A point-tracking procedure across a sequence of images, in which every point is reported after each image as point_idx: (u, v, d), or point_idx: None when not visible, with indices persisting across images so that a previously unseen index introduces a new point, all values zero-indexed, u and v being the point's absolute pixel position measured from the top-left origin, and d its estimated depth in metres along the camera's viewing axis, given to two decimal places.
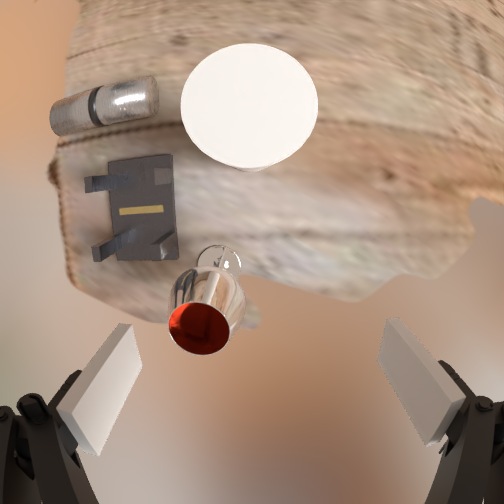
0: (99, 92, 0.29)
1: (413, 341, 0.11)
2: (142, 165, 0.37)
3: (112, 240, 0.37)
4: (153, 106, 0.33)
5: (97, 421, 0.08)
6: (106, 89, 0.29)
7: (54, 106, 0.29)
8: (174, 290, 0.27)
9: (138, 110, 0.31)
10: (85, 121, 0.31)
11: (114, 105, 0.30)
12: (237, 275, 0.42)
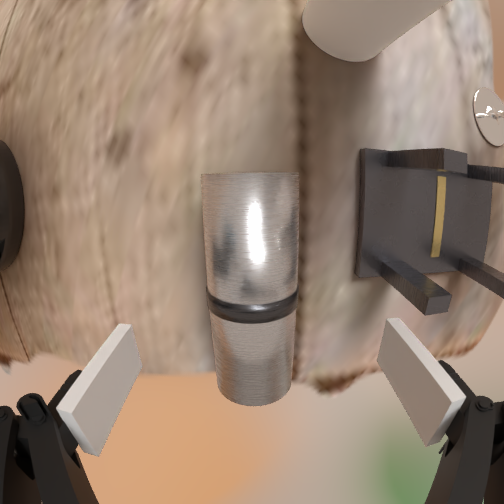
0: (230, 296, 0.16)
1: (413, 341, 0.11)
2: (377, 206, 0.20)
3: (479, 268, 0.18)
4: None
5: (97, 421, 0.08)
6: (227, 278, 0.16)
7: (236, 397, 0.19)
8: None
9: (292, 195, 0.16)
10: (289, 327, 0.18)
11: (274, 253, 0.16)
12: (497, 96, 0.17)
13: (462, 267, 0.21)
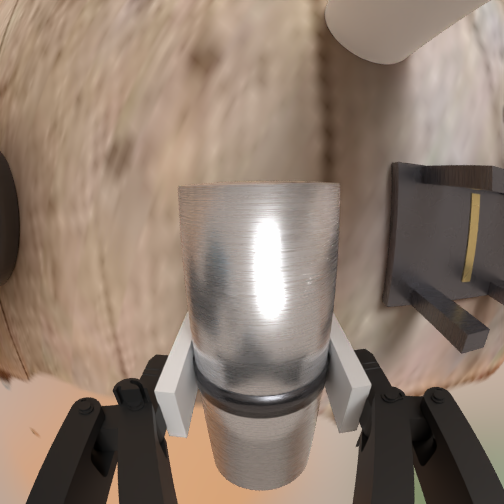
0: (229, 384, 0.10)
1: (335, 328, 0.13)
2: (410, 228, 0.17)
3: None
4: None
5: (187, 401, 0.10)
6: (223, 360, 0.09)
7: (239, 482, 0.12)
8: None
9: (334, 223, 0.09)
10: (315, 409, 0.11)
11: (302, 323, 0.09)
12: None
13: (492, 291, 0.17)
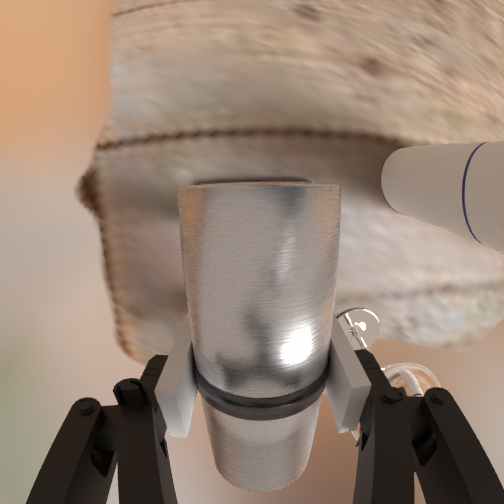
0: (229, 386, 0.10)
1: (334, 328, 0.13)
2: None
3: None
4: None
5: (187, 401, 0.10)
6: (224, 363, 0.09)
7: (239, 484, 0.12)
8: None
9: (334, 225, 0.09)
10: (315, 411, 0.11)
11: (303, 325, 0.09)
12: (372, 341, 0.30)
13: None
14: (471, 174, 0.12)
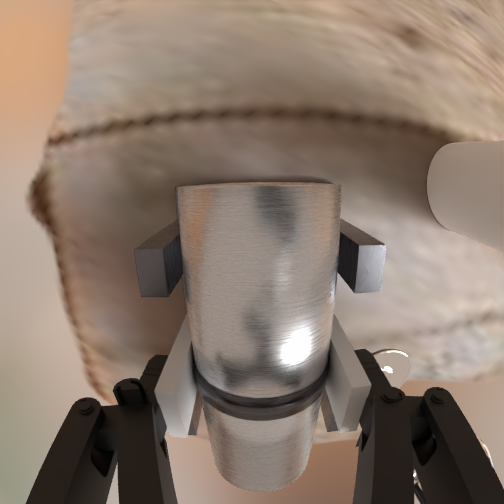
0: (229, 386, 0.10)
1: (335, 328, 0.13)
2: None
3: None
4: None
5: (187, 401, 0.10)
6: (223, 363, 0.09)
7: (239, 484, 0.12)
8: None
9: (334, 225, 0.09)
10: (315, 411, 0.11)
11: (303, 326, 0.09)
12: (400, 384, 0.22)
13: None
14: None
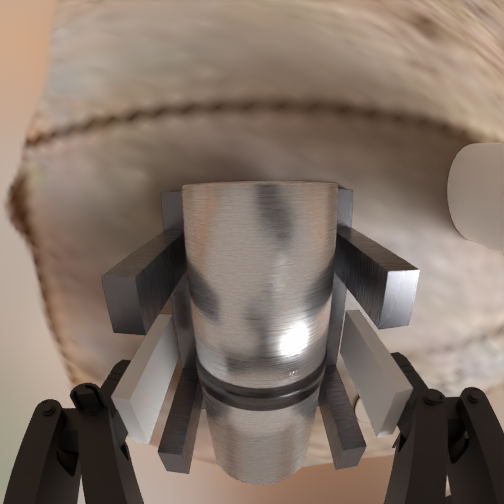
0: (230, 377, 0.10)
1: (368, 332, 0.12)
2: None
3: (194, 401, 0.14)
4: None
5: (148, 408, 0.09)
6: (225, 353, 0.10)
7: (239, 476, 0.12)
8: None
9: (331, 222, 0.09)
10: (313, 403, 0.12)
11: (301, 317, 0.09)
12: None
13: (188, 374, 0.16)
14: None
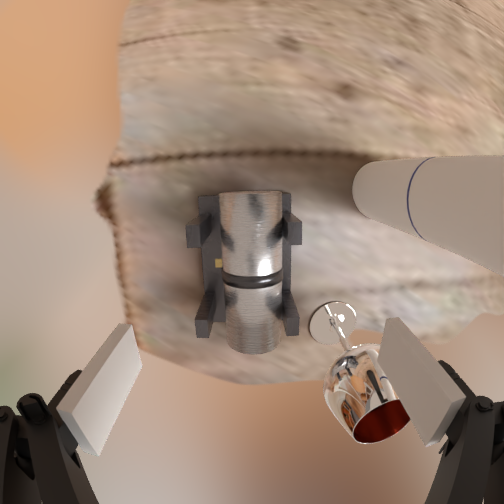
0: (244, 271, 0.26)
1: (413, 341, 0.11)
2: None
3: (212, 303, 0.30)
4: (263, 191, 0.28)
5: (97, 421, 0.08)
6: (243, 260, 0.26)
7: (247, 349, 0.28)
8: (349, 383, 0.20)
9: (280, 206, 0.26)
10: (280, 291, 0.28)
11: (271, 242, 0.26)
12: (351, 331, 0.35)
13: (208, 293, 0.32)
14: (413, 186, 0.18)
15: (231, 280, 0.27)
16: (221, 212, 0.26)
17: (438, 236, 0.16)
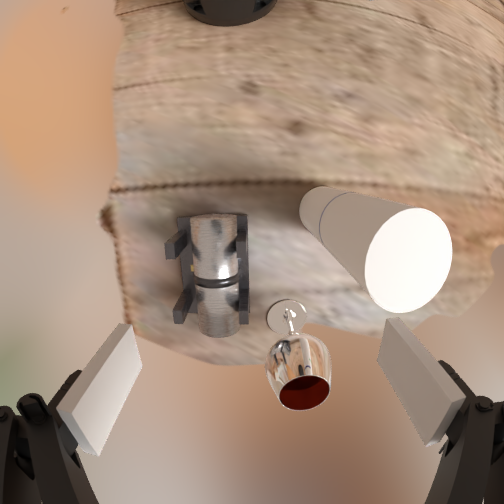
0: (208, 276, 0.35)
1: (413, 341, 0.11)
2: None
3: (187, 298, 0.40)
4: (224, 215, 0.37)
5: (97, 421, 0.08)
6: (206, 267, 0.35)
7: (212, 333, 0.38)
8: (278, 360, 0.30)
9: (234, 228, 0.35)
10: (236, 290, 0.38)
11: (227, 254, 0.35)
12: (302, 324, 0.45)
13: (186, 291, 0.42)
14: (322, 218, 0.27)
15: (199, 282, 0.36)
16: (191, 232, 0.35)
17: (335, 257, 0.25)
